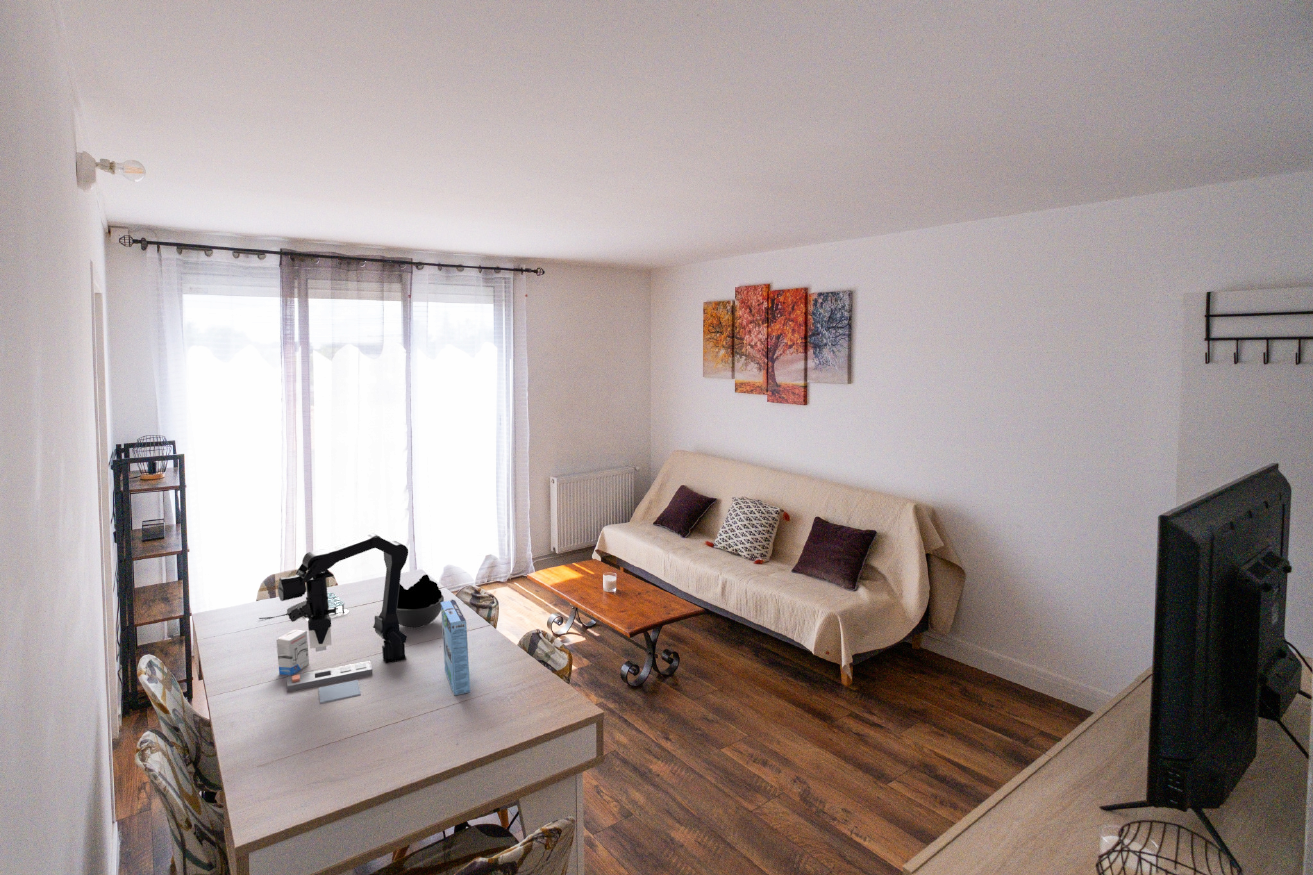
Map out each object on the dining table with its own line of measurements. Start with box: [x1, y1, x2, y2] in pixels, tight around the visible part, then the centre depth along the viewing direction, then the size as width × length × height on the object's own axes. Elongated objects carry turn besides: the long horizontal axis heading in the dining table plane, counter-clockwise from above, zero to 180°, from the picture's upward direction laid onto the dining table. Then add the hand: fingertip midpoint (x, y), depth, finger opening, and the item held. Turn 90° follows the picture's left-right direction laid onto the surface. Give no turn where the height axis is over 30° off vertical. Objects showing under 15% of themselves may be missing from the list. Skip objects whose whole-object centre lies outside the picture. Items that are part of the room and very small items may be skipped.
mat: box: [318, 679, 361, 705], centre depth 213 cm, size 11×10×1 cm
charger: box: [308, 627, 333, 653], centre depth 219 cm, size 6×4×10 cm
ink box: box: [276, 629, 310, 676], centre depth 228 cm, size 9×5×12 cm, turn 168°
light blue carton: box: [440, 599, 471, 696], centre depth 219 cm, size 20×5×23 cm, turn 25°
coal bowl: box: [397, 574, 445, 629], centre depth 262 cm, size 20×20×19 cm
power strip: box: [286, 660, 373, 693], centre depth 222 cm, size 24×7×3 cm, turn 117°
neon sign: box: [258, 592, 350, 622], centre depth 275 cm, size 21×4×29 cm
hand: (320, 640), depth 219 cm, fingers closed on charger, 4 cm apart
